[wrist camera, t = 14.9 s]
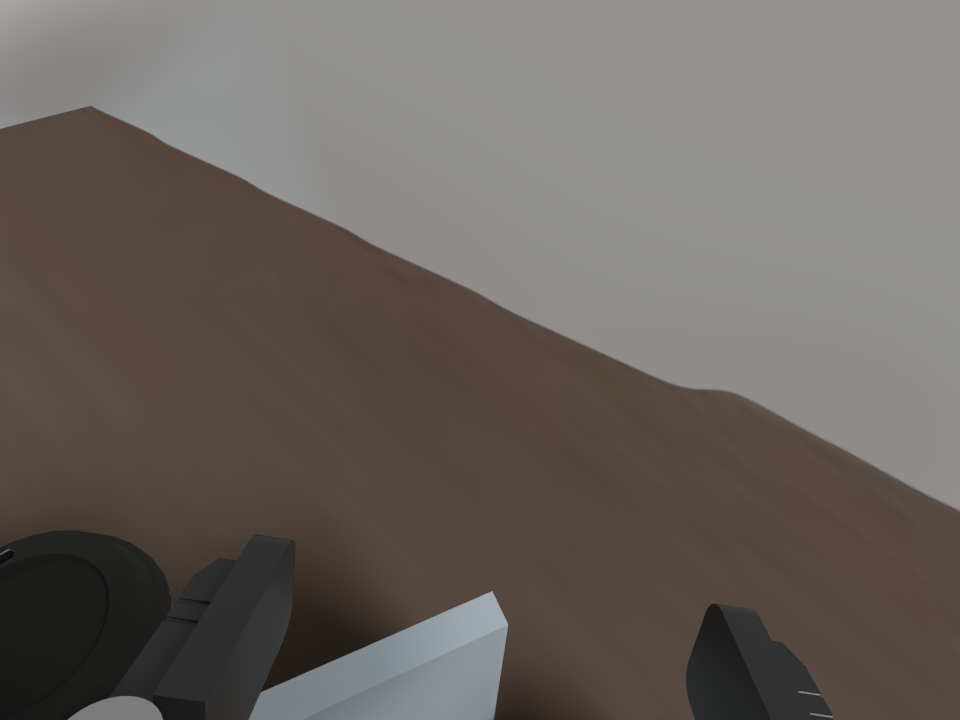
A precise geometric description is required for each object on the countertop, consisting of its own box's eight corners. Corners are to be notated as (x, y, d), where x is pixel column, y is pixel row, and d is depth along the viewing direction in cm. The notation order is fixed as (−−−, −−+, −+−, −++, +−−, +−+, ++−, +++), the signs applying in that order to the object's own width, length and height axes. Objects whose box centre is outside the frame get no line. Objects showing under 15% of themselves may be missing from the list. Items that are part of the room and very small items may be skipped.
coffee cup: (95, 899, 29) (-115, 865, 19) (32, 725, 34) (-161, 619, 24) (280, 742, 34) (199, 642, 23) (202, 609, 39) (105, 476, 28)
